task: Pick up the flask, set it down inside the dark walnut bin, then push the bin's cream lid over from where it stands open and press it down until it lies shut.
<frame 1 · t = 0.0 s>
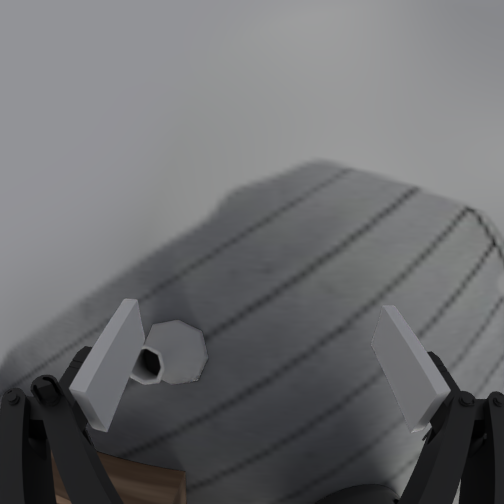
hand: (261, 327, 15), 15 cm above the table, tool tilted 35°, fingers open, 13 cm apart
flask: (175, 352, 29), on the table
bin: (93, 494, 23), on the table
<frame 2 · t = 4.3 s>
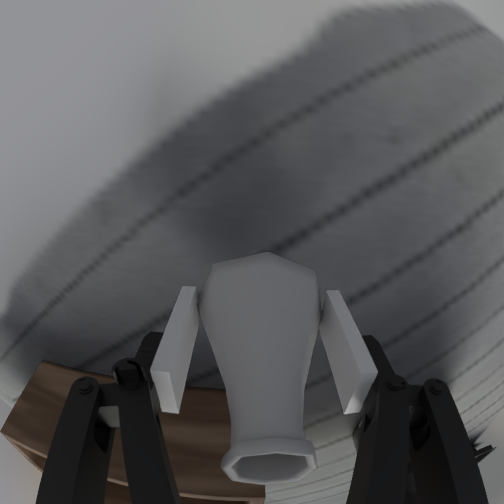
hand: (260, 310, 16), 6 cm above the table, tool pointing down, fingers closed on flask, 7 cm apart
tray: (442, 461, 46), on the table
flask: (260, 305, 17), point 5 cm above the table, touching gripper
bin: (150, 420, 30), on the table
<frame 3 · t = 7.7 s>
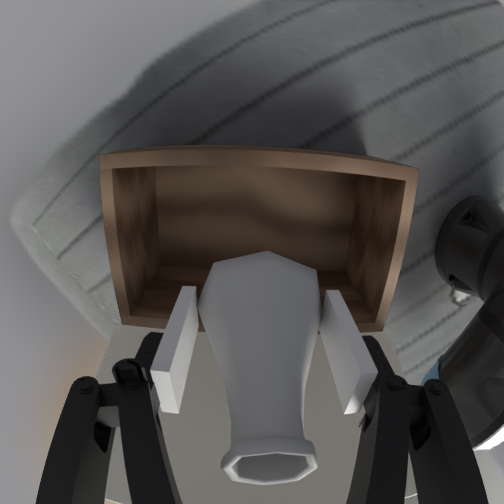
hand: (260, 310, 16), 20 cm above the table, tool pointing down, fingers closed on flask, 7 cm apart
flask: (260, 305, 17), point 20 cm above the table, touching gripper
lid: (253, 419, 20), point 20 cm above the table, hinge at 100.5°
bin: (255, 214, 35), on the table
when the fingers open (1 cm above the table, at t = 11.4 s): flask stays where it is, resting on bin.
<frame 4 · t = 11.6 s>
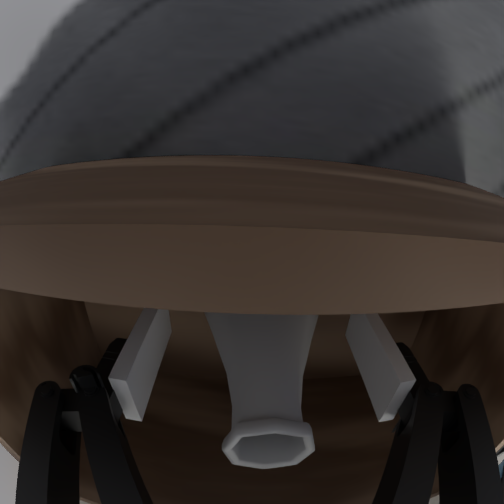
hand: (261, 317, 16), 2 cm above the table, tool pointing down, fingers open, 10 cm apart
flask: (260, 298, 17), resting on bin
bin: (259, 296, 18), on the table
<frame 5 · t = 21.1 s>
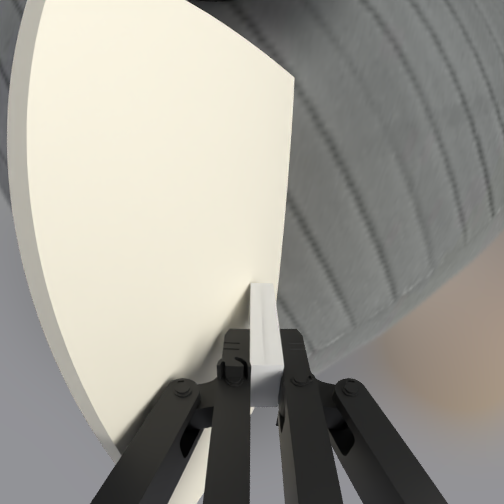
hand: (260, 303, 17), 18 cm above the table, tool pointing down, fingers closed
lid: (219, 324, 15), point 20 cm above the table, hinge at 66.0°, touching gripper
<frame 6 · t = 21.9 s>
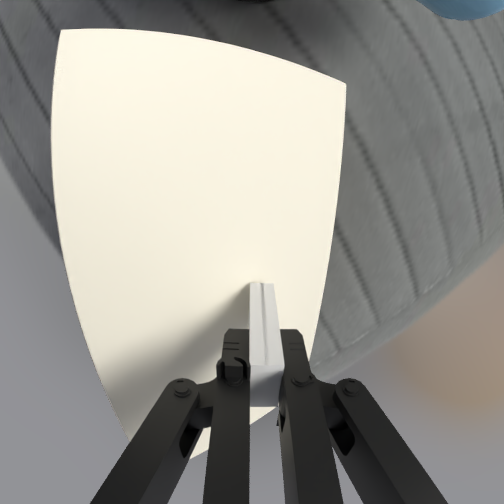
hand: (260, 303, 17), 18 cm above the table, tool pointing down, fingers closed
lid: (232, 301, 17), point 18 cm above the table, hinge at 39.7°, touching gripper
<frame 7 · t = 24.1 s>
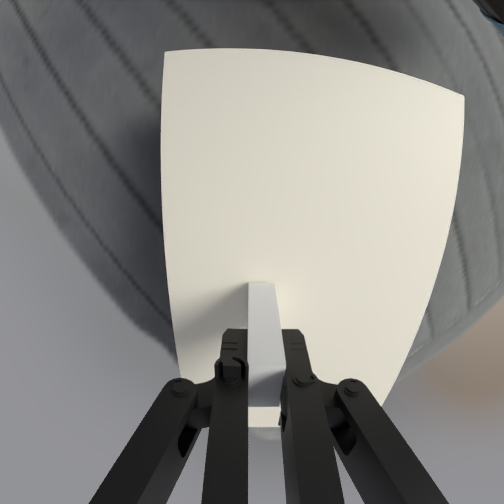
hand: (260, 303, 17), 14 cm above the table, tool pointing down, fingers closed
lid: (312, 295, 18), point 13 cm above the table, hinge at 0.4°, touching gripper
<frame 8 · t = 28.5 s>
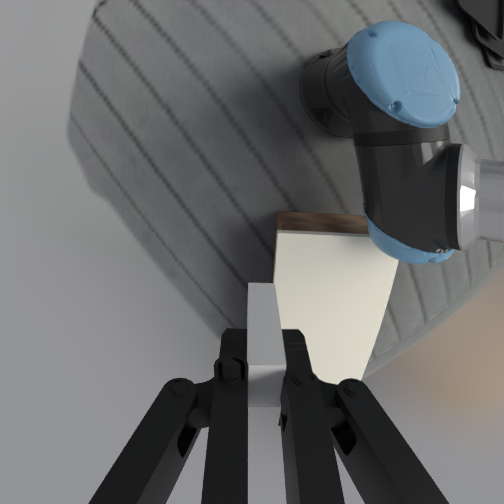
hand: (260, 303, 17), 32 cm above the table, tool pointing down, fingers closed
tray: (478, 16, 30), on the table
lid: (328, 322, 41), point 13 cm above the table, hinge at 0.0°, touching bin
bin: (315, 282, 53), on the table
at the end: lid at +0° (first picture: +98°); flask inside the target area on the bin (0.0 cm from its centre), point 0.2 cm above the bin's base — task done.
